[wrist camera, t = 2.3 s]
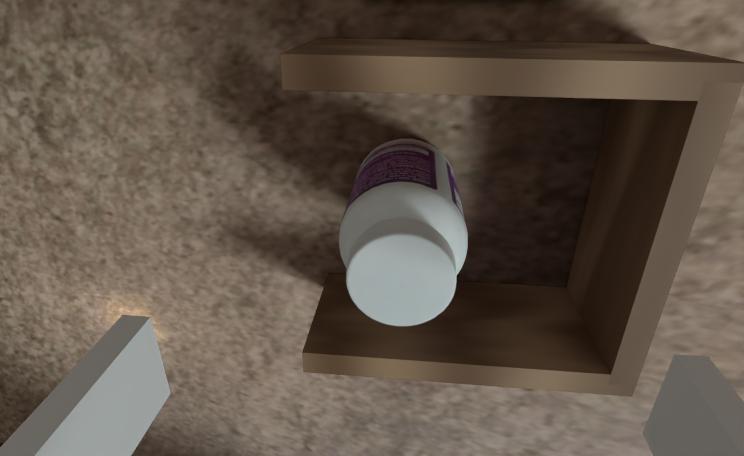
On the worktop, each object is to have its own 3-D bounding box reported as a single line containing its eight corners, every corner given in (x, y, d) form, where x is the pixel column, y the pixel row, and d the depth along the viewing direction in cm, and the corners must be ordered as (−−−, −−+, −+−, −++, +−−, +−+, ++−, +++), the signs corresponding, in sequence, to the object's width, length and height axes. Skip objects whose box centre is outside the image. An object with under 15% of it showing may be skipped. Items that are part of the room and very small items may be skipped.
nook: (651, 43, 21) (750, 63, 15) (583, 305, 27) (632, 396, 21) (319, 38, 22) (279, 53, 16) (329, 290, 28) (303, 371, 22)
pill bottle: (338, 196, 26) (298, 296, 17) (391, 116, 23) (375, 184, 15) (419, 245, 27) (418, 364, 18) (477, 172, 24) (508, 268, 16)
